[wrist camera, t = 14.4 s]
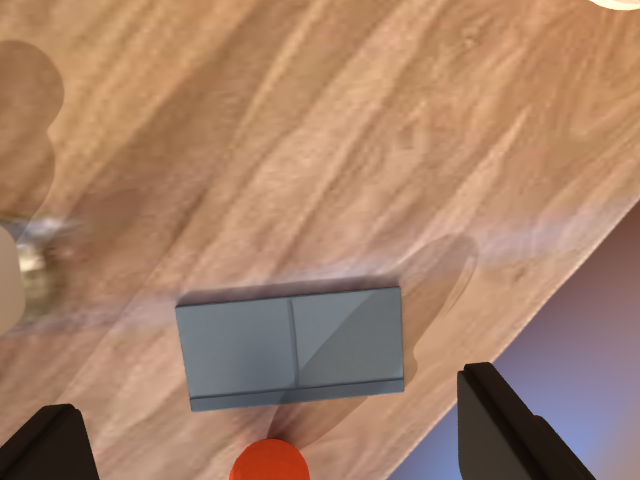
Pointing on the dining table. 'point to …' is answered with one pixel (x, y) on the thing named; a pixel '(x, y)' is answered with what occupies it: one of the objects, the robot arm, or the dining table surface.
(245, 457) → the clementine
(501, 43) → the dining table surface
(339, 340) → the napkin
